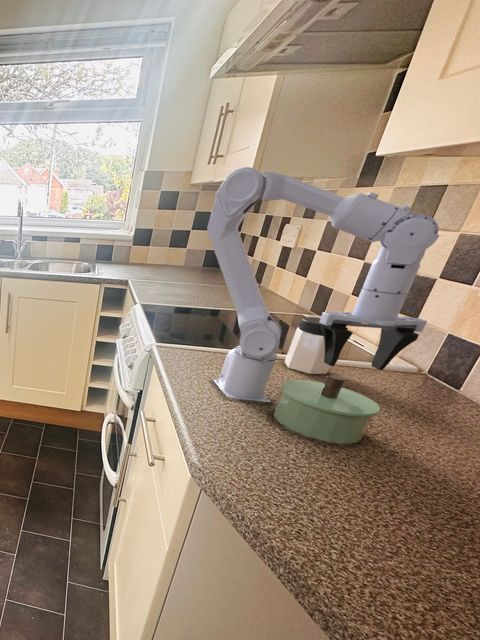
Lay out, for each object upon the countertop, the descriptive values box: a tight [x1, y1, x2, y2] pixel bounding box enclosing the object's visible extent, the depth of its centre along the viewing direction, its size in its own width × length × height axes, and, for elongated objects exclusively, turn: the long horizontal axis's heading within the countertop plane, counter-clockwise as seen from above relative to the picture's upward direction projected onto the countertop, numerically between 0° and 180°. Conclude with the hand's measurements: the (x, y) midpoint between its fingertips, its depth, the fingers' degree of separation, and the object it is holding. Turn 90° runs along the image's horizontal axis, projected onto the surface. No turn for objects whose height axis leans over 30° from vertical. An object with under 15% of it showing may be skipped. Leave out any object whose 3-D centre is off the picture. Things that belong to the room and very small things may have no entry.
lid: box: [280, 374, 381, 417], centre depth 72 cm, size 14×14×5 cm
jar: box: [284, 316, 331, 375], centre depth 101 cm, size 9×8×12 cm
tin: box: [273, 390, 373, 445], centre depth 74 cm, size 13×13×6 cm
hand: (352, 366), depth 76 cm, fingers open, 7 cm apart
